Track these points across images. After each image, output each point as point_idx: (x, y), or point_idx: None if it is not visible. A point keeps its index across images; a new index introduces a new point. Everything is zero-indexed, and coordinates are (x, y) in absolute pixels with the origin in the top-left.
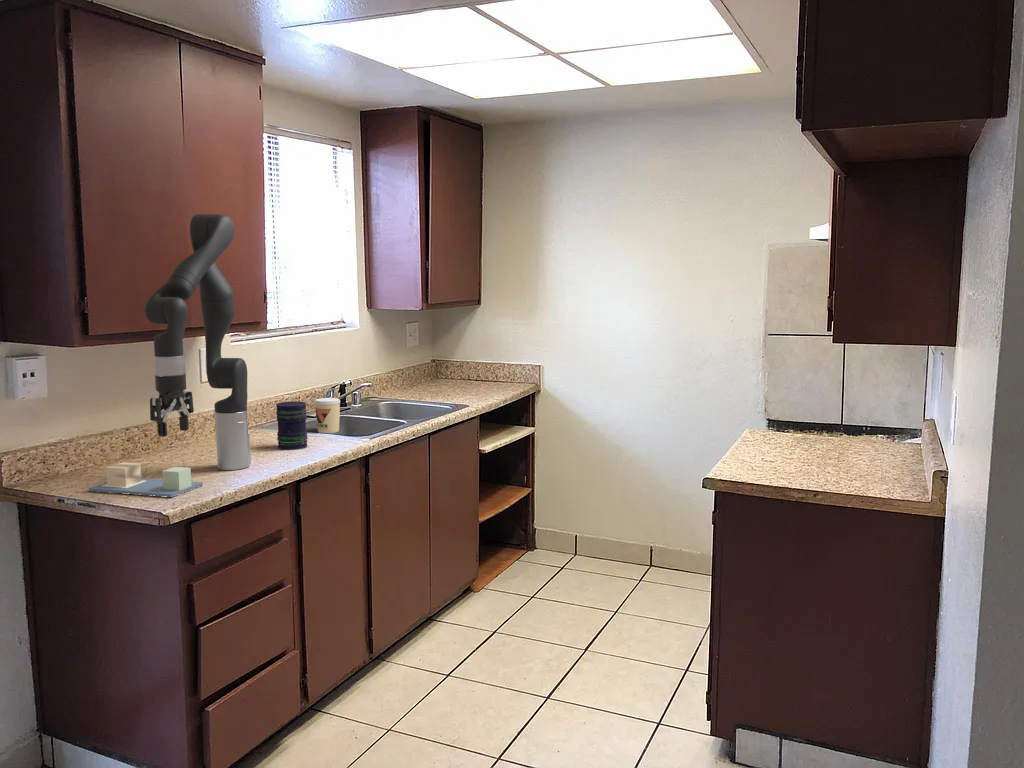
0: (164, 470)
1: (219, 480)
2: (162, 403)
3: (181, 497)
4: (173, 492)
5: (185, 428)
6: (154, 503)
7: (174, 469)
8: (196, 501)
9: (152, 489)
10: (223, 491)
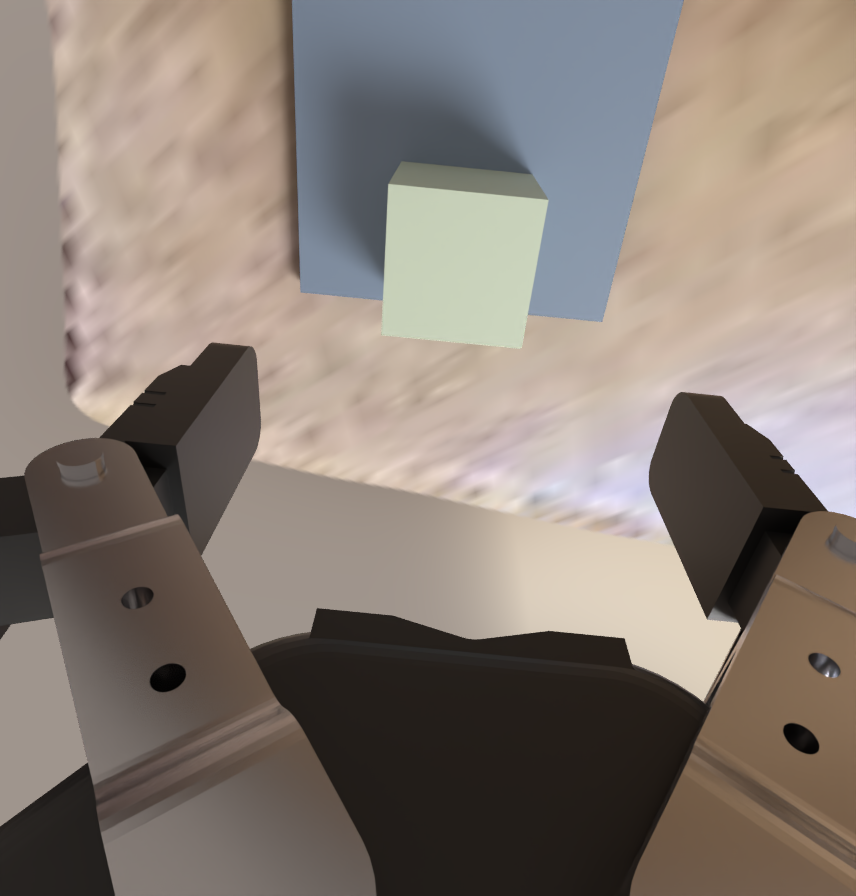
0: (407, 192)
1: (740, 342)
2: (41, 888)
3: (337, 330)
4: (343, 280)
5: (660, 478)
6: (184, 251)
7: (453, 257)
8: (291, 440)
9: (379, 76)
10: (489, 472)
